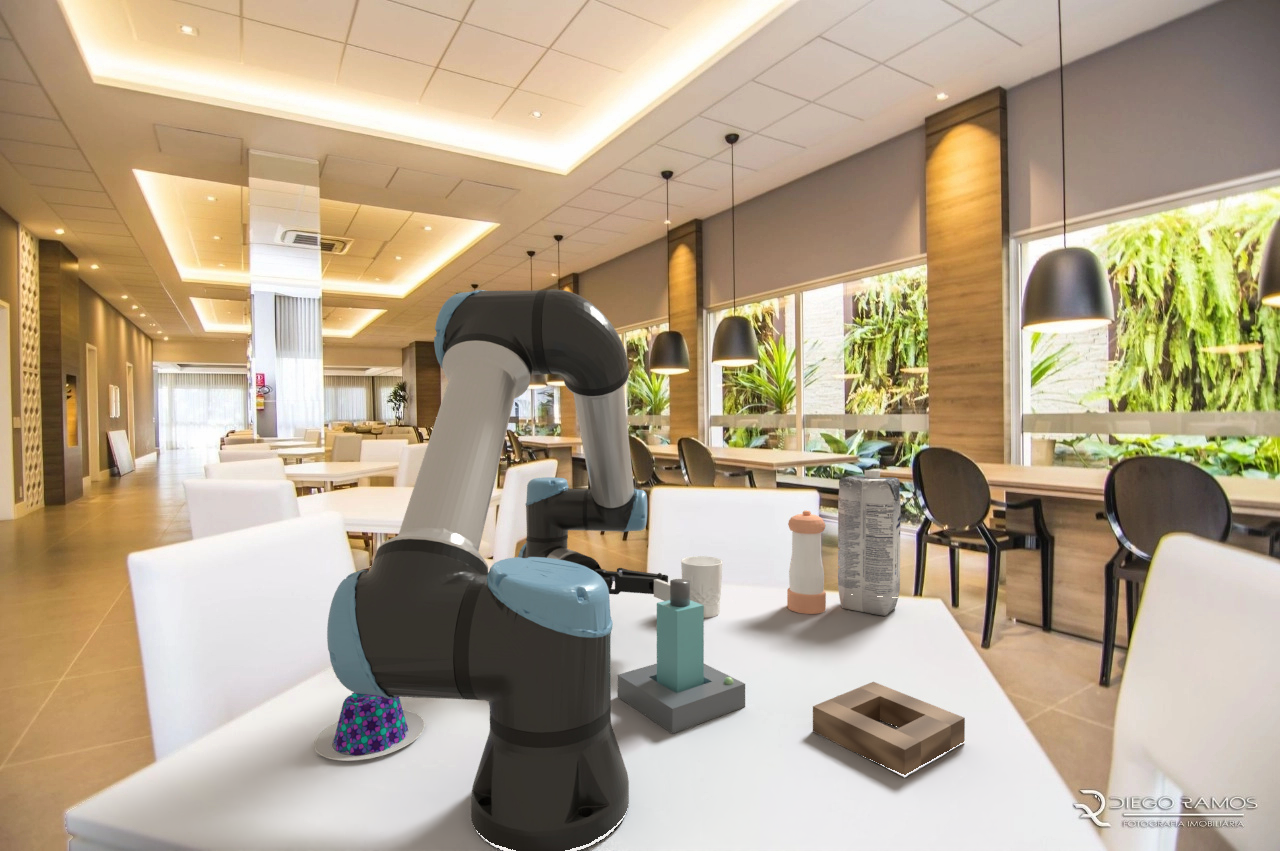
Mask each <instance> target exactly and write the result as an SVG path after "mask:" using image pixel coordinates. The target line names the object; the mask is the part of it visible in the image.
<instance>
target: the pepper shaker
mask: <svg viewBox="0 0 1280 851" xmlns="http://www.w3.org/2000/svg"><path fill="white" fill-rule="evenodd" d="M787 524H788V528H789V530H790V531H791V532H792V534H791V540H792V541H791V542H792V543H791V548H792V549H791V558H790V563H789V564H790V565H789V570H788V577H789V578H788V581H789V583H788V584H789V587H788V588H787V592H786V593H787V596H786V597H787V601H786V602H787V603H786V604H787V609H789V611H792V612H795V613H797V614H804V615H815V614H816V615H817V614H823V613H824V612H825V611H826V610H827V609H826V607H827V605H826V604H827V602H826V601H827V594H826V591H825V589H824V587H825V571H824V564H823V559H822V533H823V532H824V531H825V529H826V522H825V521H824V519H823V517H820V516H819V515H816V514H813V513H812V512H811V511H809V510H804V511H802V513H800V514H795V515H793V516H791V517H790V519H789V520H788V523H787Z"/></svg>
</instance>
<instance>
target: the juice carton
mask: <svg viewBox="0 0 1280 851" xmlns="http://www.w3.org/2000/svg"><path fill="white" fill-rule="evenodd" d="M900 485H901V484H900V479H899V478H897V477H893V476H892V477H881V471H880V470H872V469H871V470H870V469H869V470H868V469H867V470H866V469H864V475H858V474H857V475H856V474H854V475H849V476H846V477H842V478H840V479H839V482H838V497H837V498H838V500H837V502H838V503H837V506H838V510H837V514H838V515H837V517H838V518H837V526H838V527H837V532H838V533H837V549H838V550H837V589H838V596H839V602H840V606H841V608H842V609H843V610H844V609H845V610H849V611H855V612H859V613H860V612H861V613H865V614H871V615H876V616H883V617H886V616H887V615H889V613H890V612H892V611H893V610H894V609H895V608H896V606H897V603H898V600H899V596H900V590H901V589H900V588H901V492H900V491H901V490H900ZM851 594H853V595H851ZM877 596H883V597H877ZM892 597H898V598H892Z"/></svg>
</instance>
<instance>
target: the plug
mask: <svg viewBox="0 0 1280 851" xmlns="http://www.w3.org/2000/svg"><path fill="white" fill-rule="evenodd" d="M669 583H670V600H668V601H663V600H662V601H660V602H656V664H657V682H658V683H660V684H662V685H663V686H665V687H667V688H668V689H670V690H672V691H674V692H675V693H679V692H682V691H685V690H688V689H691V688H694V687H697V686H700V685H703V684H704V664H705V663H704V661H705V660H704V657H705V656H704V654H705V652H704V651H705V650H704V649H705V648H704V646H705V645H704V644H705V640H704V638H705V633H704V631H705V630H704V627H705V626H704V624H705V623H704V619H705V618H704V605H702V604H699V603H696V602H694V601H691V600H690V581H689V580H686V579H682V578H675V579H673V578H672V579H671V580H670V582H669Z"/></svg>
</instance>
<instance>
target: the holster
mask: <svg viewBox="0 0 1280 851" xmlns="http://www.w3.org/2000/svg"><path fill="white" fill-rule="evenodd" d="M965 718H966V717H965V716H962V715H959V714H957V713H954V712H951V711H948V710H946V709H944V708H941V707H939V706H936V705H934V704H931V703H928V702H926V701H924V700H921V699H919V698H916V697H913V696H911V695H909V694H906V693H903V692H900V691H898V690H896V689H892V688H891V687H888V686H885V685H883V684H881V683H877V682H875V681H872V682H868V683H866V684H864V685H861V686H858V687H857V688H854V689H852V690H849V691H847V692H845V693H843V694H840V695H838V696H835V697H832V698H829V699H827V700H824V701H823V702H820V703H818V704H815V705H812V732H814V733H816V734H818V735H820V736H821V737H824V738H825V739H827V740H829V741H831V742H834V743H835V744H837V745H839V746H842V748H844V749H847V750H849V751H851V752H853V753H855V752H856V753H858V754H860V755H862V756H864V757H866V758H868V759H871V760H873V761H875V762H877V763H879V764H882V765H884V766H885V767H887V768H890V769H892V770H895V771H897V772H899V773H901V774H904V775H906V774H907V773H909V772H911V771H913V770H914V769H916V768H918V767H919V766H921V765H923V764H925V763H927V762H929V761H931V760H932V759H934V758H936V757H937V756H939V755H941V754H943V753H944V752H947V751H949V750H950V749H952V748H953V747H956V746H957V745H959V744H960V743H963V742H964V741H965V740H966V739H965V736H966V735H965V734H966V731H965V728H966V726H965V723H966V720H965ZM881 720H882V722H883V721H884V724H883V723H882V722H879V721H881ZM885 723H886V724H888V723H889V725H890V724H892V725H894V726H893V727H895V726H897V727H899V728H897V727H896V729H895V728H892V727H891V726H892V725H891V726H889V725H886V724H885ZM856 753H855V754H856ZM858 754H857V755H858ZM860 755H859V756H860ZM862 756H861V757H862ZM864 757H863V758H864ZM866 758H865V759H866ZM868 759H867V760H868Z"/></svg>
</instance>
